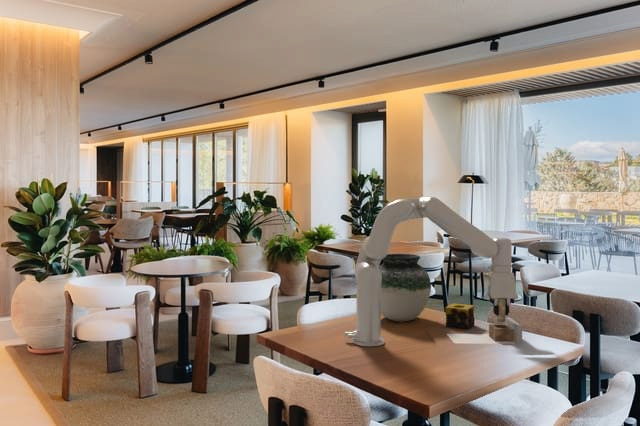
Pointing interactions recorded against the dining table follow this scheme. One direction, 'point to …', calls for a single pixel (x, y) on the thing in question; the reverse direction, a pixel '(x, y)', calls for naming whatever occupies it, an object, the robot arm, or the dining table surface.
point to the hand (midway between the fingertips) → (501, 314)
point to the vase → (403, 287)
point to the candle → (460, 316)
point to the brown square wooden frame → (501, 332)
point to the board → (485, 337)
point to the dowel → (501, 309)
